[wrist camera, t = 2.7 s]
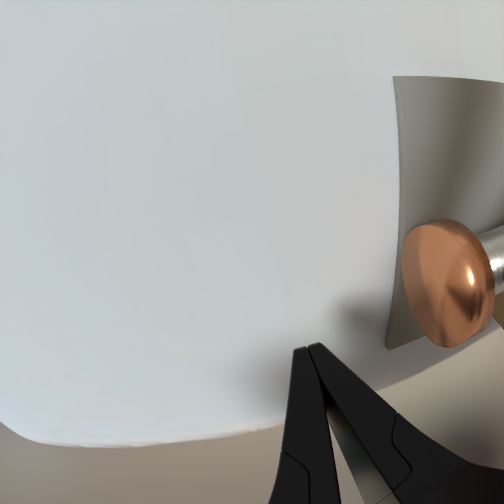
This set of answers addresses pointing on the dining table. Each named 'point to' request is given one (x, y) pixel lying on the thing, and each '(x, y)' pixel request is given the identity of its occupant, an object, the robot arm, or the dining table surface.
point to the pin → (452, 278)
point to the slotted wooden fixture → (446, 170)
